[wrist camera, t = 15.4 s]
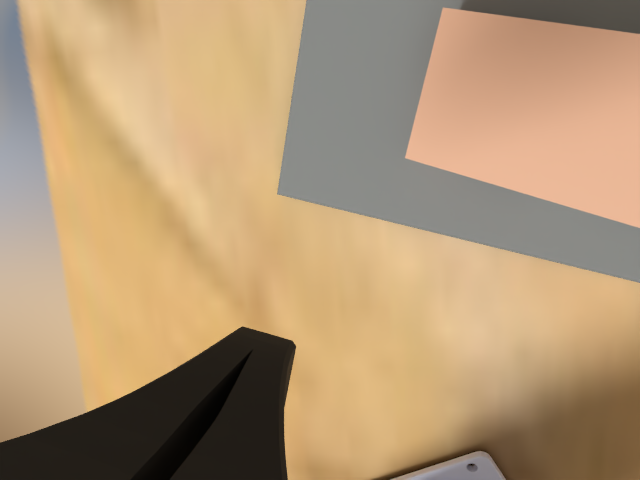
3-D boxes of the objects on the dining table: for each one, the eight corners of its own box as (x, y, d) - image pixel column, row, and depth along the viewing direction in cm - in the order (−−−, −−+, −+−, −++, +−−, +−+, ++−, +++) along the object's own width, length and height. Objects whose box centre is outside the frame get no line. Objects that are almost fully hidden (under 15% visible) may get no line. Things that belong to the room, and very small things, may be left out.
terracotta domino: (457, 14, 16) (781, 60, 12) (420, 154, 18) (691, 232, 14) (442, 7, 15) (799, 55, 11) (405, 157, 17) (697, 245, 13)
